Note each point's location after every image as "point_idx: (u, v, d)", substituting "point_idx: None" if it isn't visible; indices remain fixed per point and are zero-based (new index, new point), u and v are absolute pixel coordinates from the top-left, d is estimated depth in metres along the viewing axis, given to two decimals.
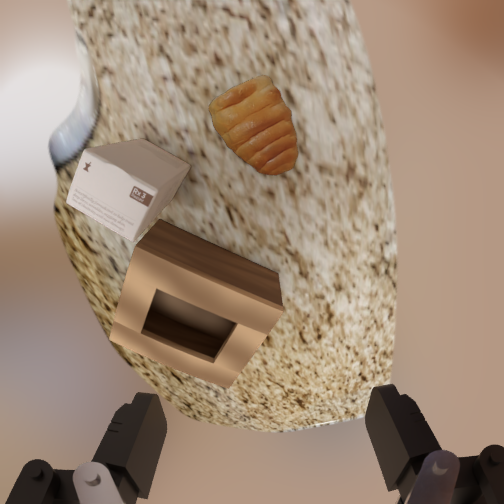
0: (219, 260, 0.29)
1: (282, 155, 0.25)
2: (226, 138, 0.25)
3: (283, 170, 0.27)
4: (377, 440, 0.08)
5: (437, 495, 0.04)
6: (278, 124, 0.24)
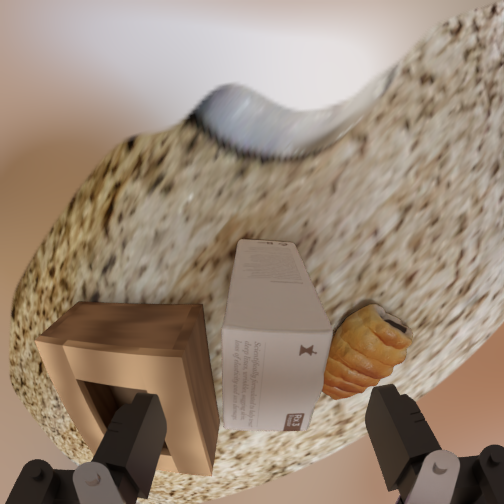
0: (207, 396, 0.23)
1: (346, 393, 0.23)
2: (342, 345, 0.22)
3: (330, 395, 0.24)
4: (377, 440, 0.08)
5: (437, 495, 0.04)
6: (375, 379, 0.22)
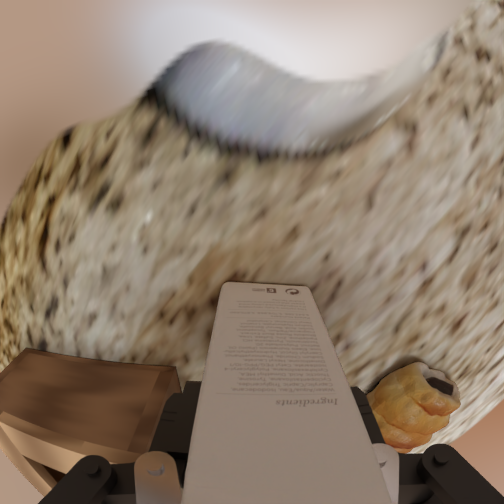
0: None
1: None
2: None
3: None
4: None
5: None
6: (411, 448, 0.14)
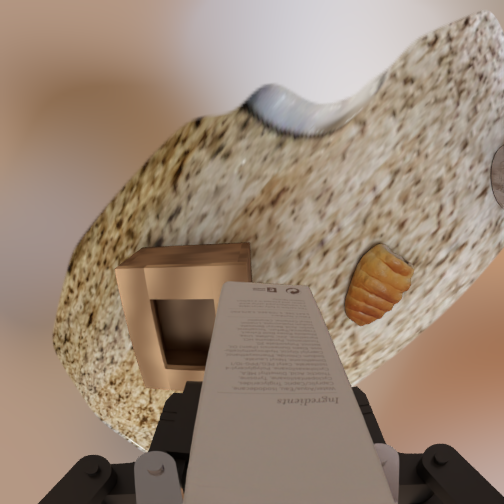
0: None
1: (369, 317, 0.31)
2: (362, 274, 0.30)
3: (356, 322, 0.32)
4: None
5: None
6: (390, 303, 0.30)
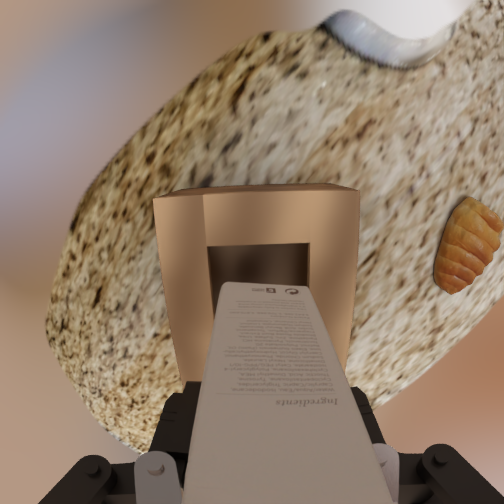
0: None
1: (463, 283, 0.23)
2: (458, 230, 0.22)
3: (448, 289, 0.24)
4: None
5: None
6: (483, 265, 0.22)
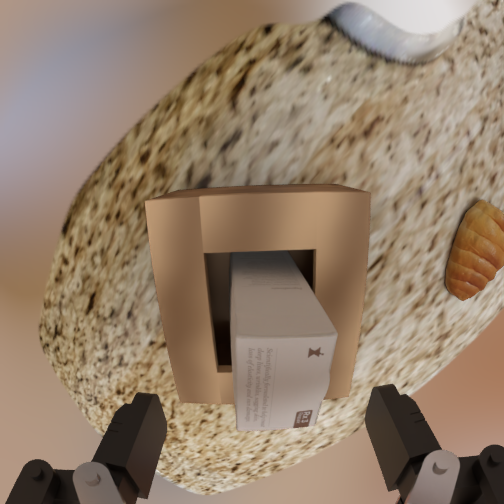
0: None
1: (475, 289, 0.21)
2: (470, 235, 0.21)
3: (459, 296, 0.23)
4: (377, 440, 0.08)
5: (437, 495, 0.04)
6: (495, 270, 0.20)
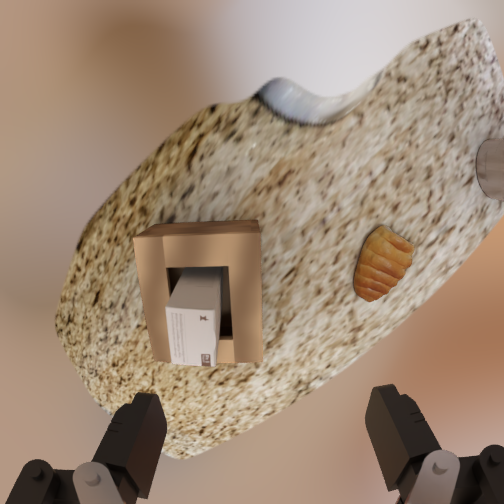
0: None
1: (377, 293, 0.34)
2: (368, 253, 0.33)
3: (365, 298, 0.35)
4: (377, 440, 0.08)
5: (437, 495, 0.04)
6: (395, 279, 0.33)
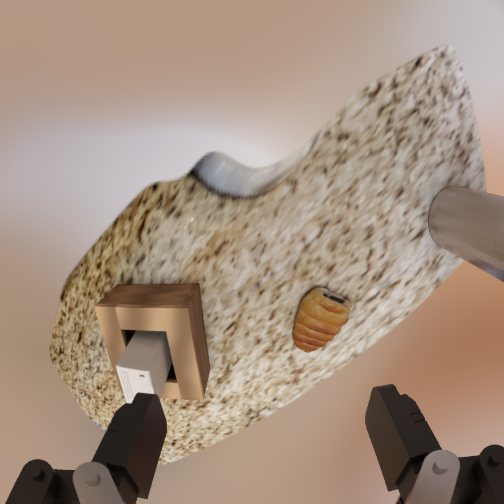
0: (201, 343, 0.38)
1: (312, 346, 0.38)
2: (302, 314, 0.38)
3: (303, 349, 0.40)
4: (377, 440, 0.08)
5: (437, 495, 0.04)
6: (329, 335, 0.37)
